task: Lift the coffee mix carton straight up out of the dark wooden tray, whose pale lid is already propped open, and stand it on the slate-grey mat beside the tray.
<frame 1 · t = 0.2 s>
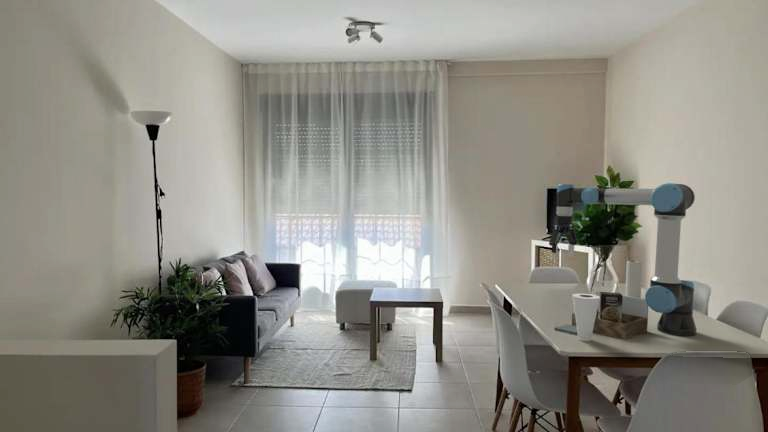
hand: (562, 258, 263), 28 cm above the table, tool pointing down, fingers open, 13 cm apart
slate mat: (571, 330, 234), on the table
coffee box: (609, 329, 238), resting in wooden tray
cup: (584, 340, 220), on the table
wooden tray: (609, 329, 238), on the table
frame lid: (620, 304, 244), on the wooden tray, point 10 cm above the table
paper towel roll: (631, 298, 311), on the table
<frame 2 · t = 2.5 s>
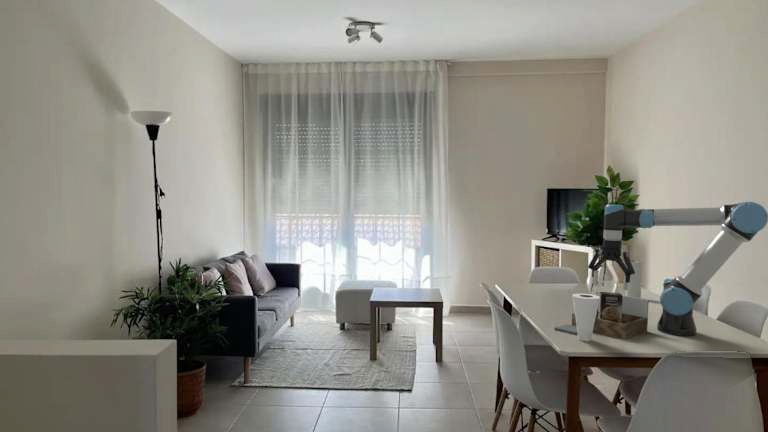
hand: (610, 287, 237), 19 cm above the table, tool pointing down, fingers open, 13 cm apart
nothing on the table moved.
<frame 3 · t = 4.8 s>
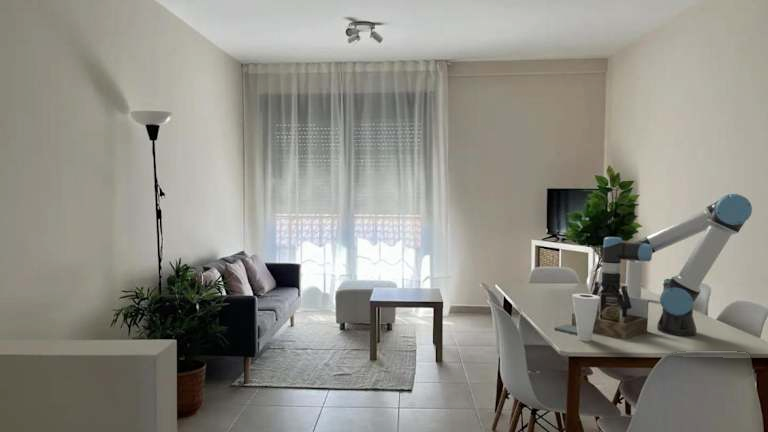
hand: (609, 321, 237), 3 cm above the table, tool pointing down, fingers closed on coffee box, 11 cm apart
coffee box: (609, 329, 237), resting in wooden tray, touching gripper
everything else where it was.
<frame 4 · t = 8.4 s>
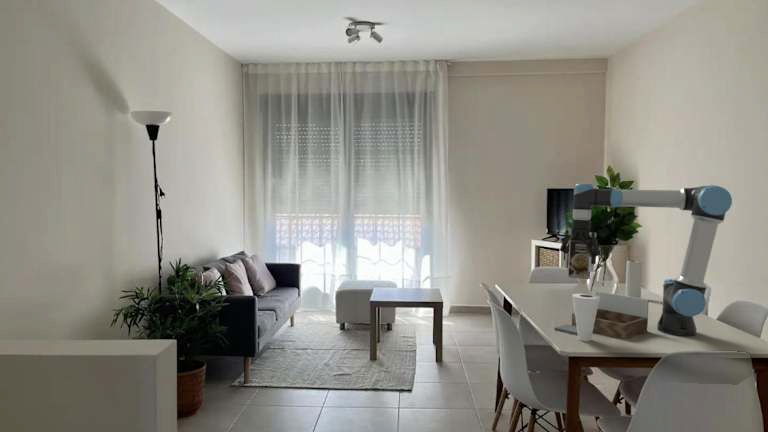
hand: (578, 269, 234), 27 cm above the table, tool pointing down, fingers closed on coffee box, 11 cm apart
coffee box: (578, 277, 234), point 23 cm above the table, touching gripper
everything else where it was.
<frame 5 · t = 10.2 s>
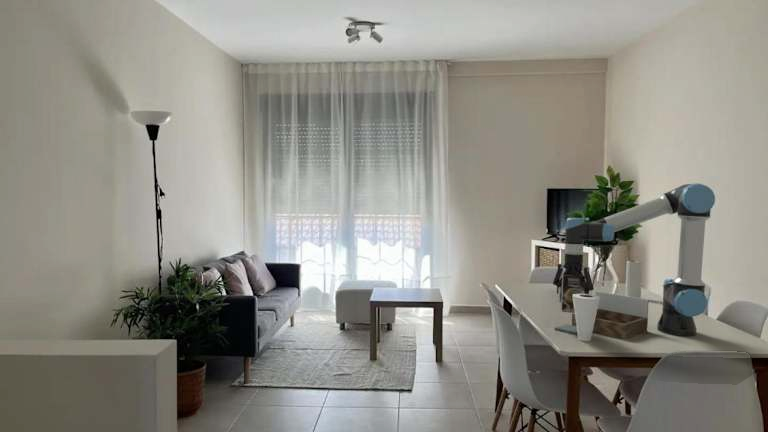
hand: (572, 303, 234), 12 cm above the table, tool pointing down, fingers closed on coffee box, 11 cm apart
coffee box: (571, 311, 234), point 8 cm above the table, touching gripper
everything else where it was.
when the fingers open (6 cm above the table, at t = 12.0 s): coffee box drops 1 cm, resting on slate mat.
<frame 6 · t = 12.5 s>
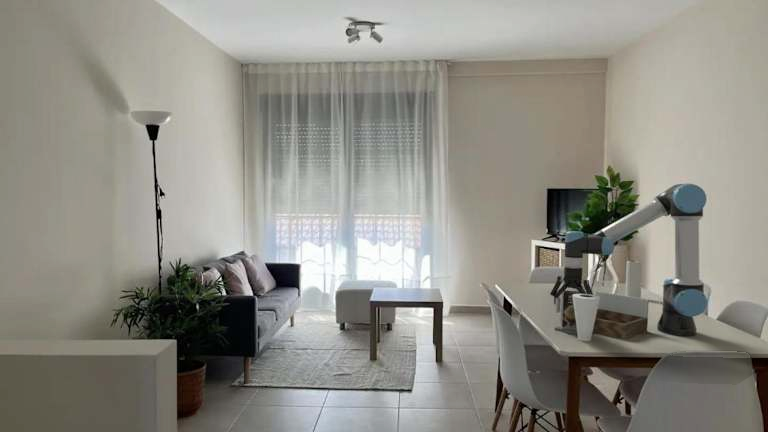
hand: (571, 315, 234), 7 cm above the table, tool pointing down, fingers open, 13 cm apart
coffee box: (571, 328, 234), point 1 cm above the table, touching slate mat
everything else where it was.
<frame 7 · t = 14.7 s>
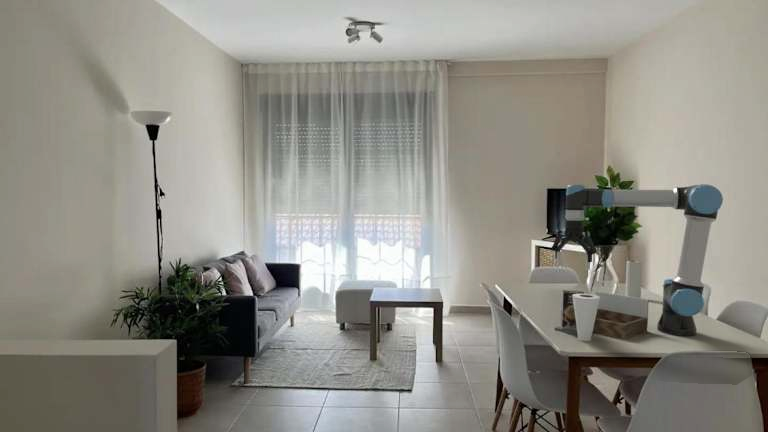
hand: (572, 268, 236), 27 cm above the table, tool pointing down, fingers open, 13 cm apart
nothing on the table moved.
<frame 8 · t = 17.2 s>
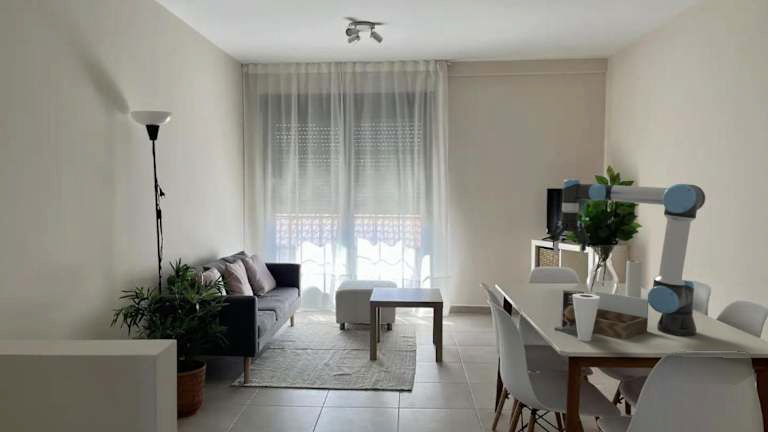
hand: (568, 256, 258), 30 cm above the table, tool pointing down, fingers open, 13 cm apart
nothing on the table moved.
at the end: coffee box inside the target area on the slate mat (0.4 cm from its centre), point 0.8 cm above the slate mat's base; coffee box tilted 0°; the gripper is holding nothing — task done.
